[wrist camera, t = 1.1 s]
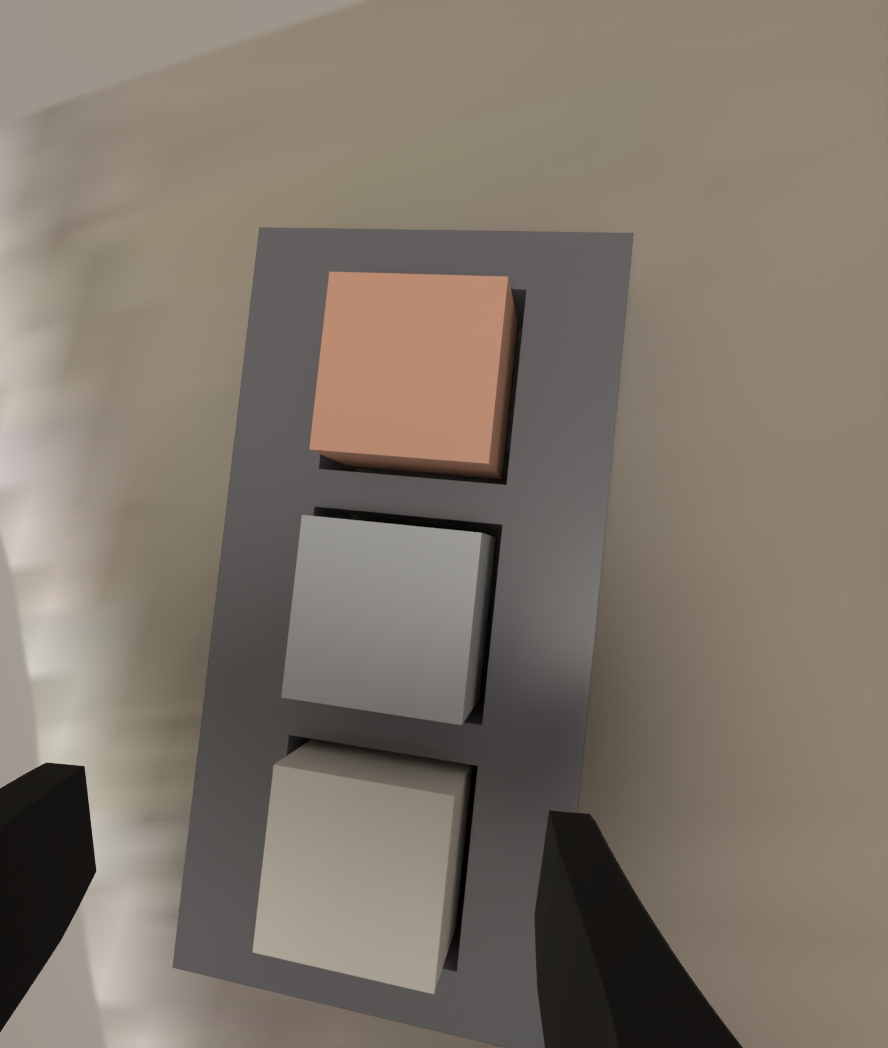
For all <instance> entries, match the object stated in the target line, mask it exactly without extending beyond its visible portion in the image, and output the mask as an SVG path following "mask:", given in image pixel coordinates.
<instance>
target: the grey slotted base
mask: <svg viewBox="0 0 888 1048" xmlns="http://www.w3.org/2000/svg"><path fill="white" fill-rule="evenodd" d="M633 234H634V233H588V232H523V231H458V230H393V229H328V228H263V227H259V235H258V243H257V252H256V260H255V269H254V277H253V286H252V294H251V303H250V311H249V320H248V329H247V337H246V346H245V354H244V363H243V371H242V380H241V388H240V397H239V405H238V414H237V422H236V431H235V439H234V448H233V457H232V465H231V474H230V482H229V491H228V499H227V508H226V516H225V525H224V533H223V542H222V550H221V559H220V567H219V576H218V585H217V593H216V602H215V610H214V619H213V627H212V636H211V644H210V653H209V661H208V670H207V678H206V687H205V696H204V704H203V713H202V721H201V730H200V738H199V747H198V755H197V764H196V772H195V781H194V789H193V798H192V806H191V815H190V824H189V832H188V841H187V849H186V858H185V866H184V875H183V883H182V892H181V900H180V909H179V917H178V926H177V934H176V943H175V952H174V960H173V968H177V969H181V970H185V971H189V972H194V973H198V974H202V975H206V976H210V977H214V978H218V979H223V980H227V981H231V982H235V983H239V984H243V985H247V986H252V987H256V988H260V989H264V990H268V991H272V992H276V993H281V994H285V995H289V996H293V997H297V998H301V999H305V1000H310V1001H314V1002H318V1003H322V1004H326V1005H330V1006H334V1007H339V1008H343V1009H347V1010H351V1011H355V1012H359V1013H363V1014H368V1015H372V1016H376V1017H380V1018H384V1019H388V1020H393V1021H397V1022H401V1023H405V1024H409V1025H413V1026H417V1027H422V1028H426V1029H430V1030H434V1031H438V1032H442V1033H446V1034H451V1035H455V1036H459V1037H463V1038H467V1039H471V1040H475V1041H480V1042H484V1043H488V1044H492V1045H496V1046H500V1047H504V1048H545V1044H544V1037H543V1029H542V1022H541V1014H540V1007H539V999H538V991H537V973H536V949H535V919H534V914H535V907H536V900H537V893H538V886H539V878H540V871H541V864H542V857H543V850H544V843H545V836H546V828H547V821H548V814H549V810H551V811H562V812H572V813H578V804H579V794H580V784H581V773H582V763H583V752H584V742H585V732H586V721H587V711H588V701H589V690H590V680H591V669H592V659H593V649H594V638H595V628H596V618H597V607H598V597H599V587H600V576H601V566H602V555H603V545H604V535H605V524H606V514H607V504H608V493H609V483H610V473H611V462H612V452H613V441H614V431H615V421H616V410H617V400H618V390H619V379H620V369H621V359H622V348H623V338H624V327H625V317H626V307H627V296H628V286H629V276H630V265H631V255H632V244H633ZM329 272H363V273H399V274H435V275H470V276H506V277H508V278H509V283H510V287H511V292H512V296H513V300H514V305H515V309H516V314H517V318H518V328H520V329H522V339H521V349H520V358H519V368H518V378H517V388H516V398H515V407H514V417H513V427H512V437H511V447H510V456H509V466H508V476H507V485H501V484H489V483H477V482H466V481H454V480H442V479H431V478H419V477H407V476H396V475H384V474H372V473H361V472H355V470H356V467H350V466H347V465H344V464H342V463H340V462H337V461H335V460H333V459H331V458H328V457H326V456H324V455H321V454H319V453H317V452H314V451H312V450H310V449H309V448H310V439H311V430H312V421H313V412H314V403H315V395H316V386H317V377H318V368H319V359H320V350H321V341H322V333H323V324H324V315H325V306H326V297H327V288H328V280H329ZM351 514H352V515H362V516H372V517H383V518H393V519H403V520H413V521H424V522H434V523H444V524H454V525H464V526H475V527H485V528H495V529H502V535H501V545H500V554H499V564H498V574H497V584H496V594H495V603H494V613H493V623H492V633H491V643H490V652H489V662H488V672H487V682H486V692H485V700H483V699H479V701H478V702H477V704H476V705H475V707H474V708H473V710H472V711H471V713H470V714H469V715H468V717H467V718H466V720H465V721H464V723H463V724H462V725H457V724H451V723H444V722H438V721H431V720H425V719H418V718H412V717H405V716H399V715H392V714H386V713H379V712H373V711H366V710H360V709H353V708H347V707H340V706H334V705H327V704H321V703H314V702H308V701H301V700H295V699H288V698H282V697H281V695H282V686H283V678H284V669H285V660H286V651H287V642H288V633H289V625H290V616H291V607H292V598H293V589H294V580H295V571H296V563H297V554H298V545H299V536H300V527H301V518H302V515H308V516H319V517H329V518H339V519H349V520H350V515H351ZM311 739H318V740H324V741H330V742H336V743H342V744H348V745H354V746H360V747H366V748H372V749H378V750H385V751H391V752H397V753H403V754H409V755H415V756H421V757H427V758H433V759H439V760H445V761H451V762H457V763H464V764H470V765H476V766H478V770H477V780H476V790H475V799H474V809H473V819H472V829H471V839H470V848H469V858H468V868H467V878H466V888H465V897H464V907H463V908H458V914H457V924H456V928H455V931H454V934H453V937H452V940H451V943H450V946H449V950H448V953H447V956H446V959H445V962H444V965H443V968H442V971H441V974H440V977H439V981H438V984H437V987H436V990H435V993H434V994H431V993H426V992H422V991H418V990H413V989H409V988H405V987H400V986H396V985H392V984H387V983H383V982H379V981H374V980H370V979H366V978H361V977H357V976H353V975H348V974H344V973H340V972H335V971H331V970H327V969H322V968H318V967H314V966H309V965H305V964H301V963H296V962H292V961H288V960H283V959H279V958H275V957H270V956H266V955H262V954H257V953H253V943H254V934H255V925H256V917H257V908H258V899H259V890H260V881H261V872H262V863H263V855H264V846H265V837H266V828H267V819H268V810H269V802H270V793H271V784H272V775H273V766H274V764H276V763H277V762H278V761H280V760H281V759H283V758H284V757H286V756H287V755H289V754H290V753H292V752H293V751H295V750H296V749H298V748H299V747H301V746H302V745H304V744H305V743H307V742H308V741H310V740H311Z"/></svg>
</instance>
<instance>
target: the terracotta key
mask: <svg viewBox="0 0 888 1048" xmlns="http://www.w3.org/2000/svg"><path fill="white" fill-rule="evenodd" d="M517 328H518V318H517V314H516V309H515V305H514V300H513V296H512V292H511V287H510V283H509V278H508V277H506V276H470V275H435V274H399V273H363V272H329V280H328V288H327V297H326V306H325V315H324V324H323V333H322V341H321V350H320V359H319V368H318V377H317V386H316V395H315V403H314V412H313V421H312V430H311V439H310V448H309V449H310V450H312V451H314V452H317V453H319V454H321V455H324V456H326V457H328V458H331V459H333V460H335V461H337V462H340V463H342V464H344V465H347V466H350V467H362V468H373V469H385V470H397V471H409V472H421V473H433V474H445V475H457V476H469V477H481V478H492V479H502V474H503V465H504V455H505V445H506V435H507V425H508V416H509V406H510V396H511V386H512V377H513V367H514V357H515V347H516V338H517Z"/></svg>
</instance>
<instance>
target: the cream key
mask: <svg viewBox="0 0 888 1048" xmlns="http://www.w3.org/2000/svg"><path fill="white" fill-rule="evenodd" d="M472 767H473V765H470V764H464V763H457V762H451V761H445V760H439V759H433V758H427V757H421V756H415V755H409V754H403V753H397V752H391V751H385V750H378V749H372V748H366V747H360V746H354V745H348V744H342V743H336V742H330V741H324V740H318V739H311V740H310V741H308V742H307V743H305V744H304V745H302V746H301V747H299V748H298V749H296V750H295V751H293V752H292V753H290V754H289V755H287V756H286V757H284V758H283V759H281V760H280V761H278V762H277V763H276V764H274V766H273V775H272V784H271V793H270V802H269V810H268V819H267V828H266V837H265V846H264V855H263V863H262V872H261V881H260V890H259V899H258V908H257V917H256V925H255V934H254V943H253V953H257V954H262V955H266V956H270V957H275V958H279V959H283V960H288V961H292V962H296V963H301V964H305V965H309V966H314V967H318V968H322V969H327V970H331V971H335V972H340V973H344V974H348V975H353V976H357V977H361V978H366V979H370V980H374V981H379V982H383V983H387V984H392V985H396V986H400V987H405V988H409V989H413V990H418V991H422V992H426V993H431V994H434V993H435V990H436V987H437V984H438V981H439V977H440V974H441V971H442V968H443V965H444V962H445V959H446V956H447V953H448V950H449V946H450V943H451V940H452V937H453V934H454V931H455V928H456V924H457V914H458V904H459V894H460V885H461V875H462V865H463V855H464V846H465V836H466V826H467V816H468V807H469V797H470V787H471V777H472Z"/></svg>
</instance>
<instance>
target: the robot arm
mask: <svg viewBox="0 0 888 1048" xmlns="http://www.w3.org/2000/svg"><path fill="white" fill-rule="evenodd" d="M95 873H96V865H95V856H94V847H93V838H92V829H91V820H90V811H89V802H88V793H87V785H86V776H85V767H84V766H76V765H66V764H55V763H45V764H43V765H41V766H39V767H37V768H35V769H33V770H32V771H30V772H28V773H26V774H24V775H23V776H21V777H19V778H18V779H16V780H14V781H12V782H10V783H9V784H7V785H6V786H4V787H2V788H0V1032H1V1030H2V1029H3V1027H4V1026H5V1024H6V1023H7V1021H8V1020H9V1018H10V1017H11V1015H12V1014H13V1012H14V1011H15V1009H16V1007H17V1006H18V1005H19V1003H20V1002H21V1000H22V999H23V997H24V996H25V994H26V993H27V991H28V990H29V988H30V987H31V985H32V984H33V982H34V981H35V979H36V978H37V976H38V975H39V973H40V972H41V970H42V969H43V967H44V965H45V964H46V962H47V961H48V959H49V958H50V956H51V955H52V953H53V952H54V950H55V949H56V947H57V945H58V944H59V942H60V941H61V939H62V937H63V935H64V934H65V932H66V930H67V928H68V926H69V924H70V922H71V920H72V918H73V917H74V915H75V913H76V911H77V909H78V907H79V905H80V903H81V901H82V899H83V897H84V895H85V893H86V891H87V889H88V887H89V885H90V883H91V881H92V879H93V877H94V875H95ZM534 919H535V949H536V973H537V991H538V999H539V1007H540V1014H541V1022H542V1029H543V1037H544V1044H545V1048H743V1047H742V1046H741V1045H740V1044H739V1042H738V1041H737V1040H736V1038H735V1037H734V1036H733V1034H732V1033H731V1032H730V1031H729V1029H728V1028H727V1027H726V1025H725V1024H724V1023H723V1021H722V1020H721V1019H720V1017H719V1016H718V1015H717V1013H716V1012H715V1011H714V1009H713V1008H712V1007H711V1005H710V1004H709V1003H708V1001H707V1000H706V998H705V997H704V996H703V994H702V993H701V991H700V990H699V989H698V987H697V986H696V984H695V983H694V982H693V980H692V979H691V977H690V976H689V975H688V973H687V972H686V970H685V969H684V967H683V966H682V964H681V963H680V961H679V960H678V959H677V957H676V956H675V954H674V953H673V951H672V950H671V948H670V947H669V945H668V944H667V942H666V941H665V939H664V937H663V936H662V934H661V933H660V931H659V930H658V928H657V927H656V925H655V923H654V922H653V920H652V919H651V917H650V916H649V914H648V913H647V911H646V909H645V908H644V906H643V905H642V903H641V901H640V900H639V898H638V896H637V895H636V893H635V891H634V890H633V888H632V886H631V885H630V883H629V881H628V880H627V878H626V876H625V874H624V873H623V871H622V869H621V868H620V866H619V864H618V862H617V861H616V859H615V857H614V855H613V853H612V852H611V850H610V848H609V846H608V844H607V842H606V840H605V839H604V837H603V835H602V833H601V831H600V829H599V827H598V825H597V823H596V821H595V820H594V819H593V818H592V817H591V815H590V814H583V813H572V812H562V811H551V810H549V814H548V821H547V828H546V836H545V843H544V850H543V857H542V864H541V871H540V878H539V886H538V893H537V900H536V907H535V914H534Z"/></svg>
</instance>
